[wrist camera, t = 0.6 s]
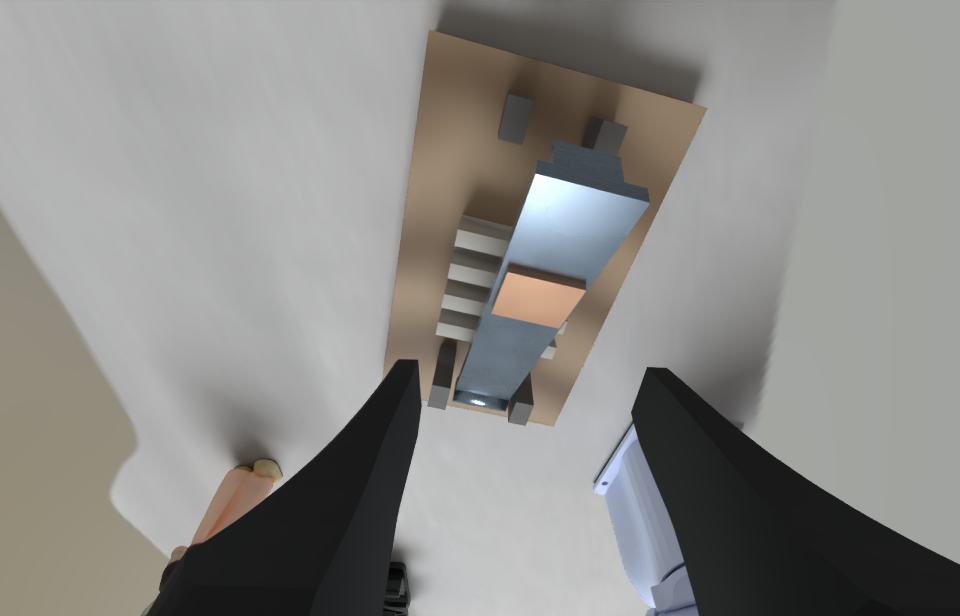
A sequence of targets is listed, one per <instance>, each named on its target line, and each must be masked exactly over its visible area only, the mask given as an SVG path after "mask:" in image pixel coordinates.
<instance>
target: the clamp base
mask: <svg viewBox="0 0 960 616" xmlns="http://www.w3.org/2000/svg"><path fill="white" fill-rule="evenodd" d="M706 110H707V108H705V107H702V106H698V105H695V104H691V103H688V102H684V101H680V100H677V99H673V98H670V97H666V96H663V95H659V94H656V93H652V92H649V91H645V90H642V89H638V88H634V87H631V86H627V85H624V84H620V83H617V82H613V81H610V80H606V79H603V78H599V77H596V76H592V75H588V74H585V73H581V72H578V71H574V70H571V69H567V68H564V67H560V66H557V65H553V64H550V63H546V62H542V61H539V60H535V59H532V58H528V57H525V56H521V55H518V54H514V53H511V52H507V51H504V50H500V49H496V48H493V47H489V46H486V45H482V44H479V43H475V42H472V41H468V40H465V39H461V38H458V37H454V36H451V35H447V34H443V33H440V32H436V31H433V30H429V34H428V42H427V49H426V56H425V64H424V71H423V79H422V86H421V94H420V101H419V109H418V116H417V124H416V131H415V139H414V146H413V154H412V161H411V168H410V176H409V183H408V191H407V198H406V206H405V213H404V221H403V228H402V236H401V243H400V251H399V258H398V266H397V273H396V281H395V288H394V295H393V303H392V310H391V318H390V325H389V333H388V340H387V348H386V355H385V363H384V370H383V378H382V381H383V379H384V378H385V377H386V375H387V374H388V372H389V371H390V369H391V368H392V366H393V365H394V363H395V362H396V361H397V360H398V359H415V360H418V363H419V377H420V390H421V400H423V401H428V405H427V406H428V407H433V408H439V409H444V410H445V408H446V405H448V406H453V407H458V408H463V409H468V410H473V411H478V412H483V413H488V414H493V415H498V416H503V417H508V422H509V423H514V424H519V425H524V426H526V423H527V421H528V422H533V423H538V424H543V425H548V426H553V427H554V424H555V422H556V420H557V418H558V416H559V414H560V412H561V410H562V408H563V406H564V404H565V402H566V400H567V398H568V396H569V393H570V391H571V389H572V387H573V385H574V383H575V381H576V379H577V377H578V375H579V373H580V371H581V369H582V367H583V365H584V362H585V360H586V358H587V356H588V354H589V352H590V350H591V348H592V346H593V344H594V342H595V340H596V338H597V336H598V334H599V331H600V329H601V327H602V325H603V323H604V321H605V319H606V317H607V315H608V313H609V311H610V309H611V307H612V305H613V303H614V301H615V298H616V296H617V294H618V292H619V290H620V288H621V286H622V284H623V282H624V280H625V278H626V276H627V274H628V272H629V270H630V267H631V265H632V263H633V261H634V259H635V257H636V255H637V253H638V251H639V249H640V247H641V245H642V243H643V241H644V239H645V236H646V234H647V232H648V230H649V228H650V226H651V224H652V222H653V220H654V218H655V216H656V214H657V212H658V210H659V208H660V205H661V203H662V201H663V199H664V197H665V195H666V193H667V191H668V189H669V187H670V185H671V183H672V181H673V179H674V177H675V175H676V172H677V170H678V168H679V166H680V164H681V162H682V160H683V158H684V156H685V154H686V152H687V150H688V148H689V146H690V144H691V141H692V139H693V137H694V135H695V133H696V131H697V129H698V127H699V125H700V123H701V121H702V119H703V117H704V115H705V113H706ZM554 140H558V141H562V142H565V143H569V144H573V145H577V146H580V147H584V148H588V149H592V150H596V151H599V152H603V153H607V154H611V155H614V156H618V157H621V163H622V169H623V176H624V182H625V183H629V184H633V185H637V186H641V187H644V188H648V193H649V198H650V205H649V206H648V207H647V209H646V210H645V212H644V213H643V214H642V216H641V217H640V218H639V220H638V221H637V223H636V224H635V225H634V227H633V228H632V230H631V231H630V232H629V234H628V235H627V237H626V238H625V239H624V241H623V242H622V244H621V245H620V246H619V248H618V249H617V251H616V252H615V253H614V255H613V256H612V258H611V259H610V260H609V262H608V263H607V265H606V266H605V267H604V269H603V270H602V271H601V273H600V274H599V276H598V277H597V278H596V280H595V281H594V283H593V284H592V285H591V287H590V288H589V290H588V291H587V292H586V294H585V295H584V297H583V298H582V299H581V301H580V302H579V304H578V305H577V306H576V308H575V309H574V311H573V312H572V313H571V315H570V316H569V317H568V319H567V320H566V322H565V323H564V324H563V326H562V327H561V329H560V330H559V331H558V333H557V334H556V336H555V337H554V338H553V340H552V341H551V343H550V344H549V345H548V347H547V348H546V350H545V351H544V352H543V354H542V355H541V357H540V358H539V359H538V361H537V362H536V364H535V365H534V366H533V368H532V369H531V370H530V372H529V373H528V375H527V376H526V377H525V379H524V380H523V382H522V383H521V384H520V386H519V387H518V389H517V390H516V391H515V393H514V394H513V396H512V397H511V398H510V400H509V403H508V407H507V409H506V411H505V412H501V411H496V410H491V409H486V408H482V407H477V406H472V405H467V404H462V403H457V402H452V398H453V392H454V387H455V383H456V379H457V377H459V374H460V371H461V368H462V365H463V363H464V360H465V357H466V354H467V352H468V349H469V346H470V343H471V341H472V338H473V335H474V332H475V329H476V327H477V324H478V321H479V318H480V316H481V313H482V310H483V307H484V305H485V302H486V299H487V296H488V294H489V291H490V288H491V285H492V282H493V280H494V277H495V274H496V271H497V269H498V266H499V263H500V260H501V258H502V255H503V252H504V249H505V246H506V244H507V241H508V238H509V235H510V233H511V230H512V227H513V224H514V222H515V219H516V216H517V213H518V210H519V208H520V205H521V202H522V199H523V197H524V194H525V191H526V188H527V186H528V183H529V180H530V177H531V174H532V172H533V169H534V166H535V163H536V161H537V160H541V161H544V162H545V161H546V159H547V156H548V154H549V151H550V148H551V146H552V143H553V141H554Z"/></svg>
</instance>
